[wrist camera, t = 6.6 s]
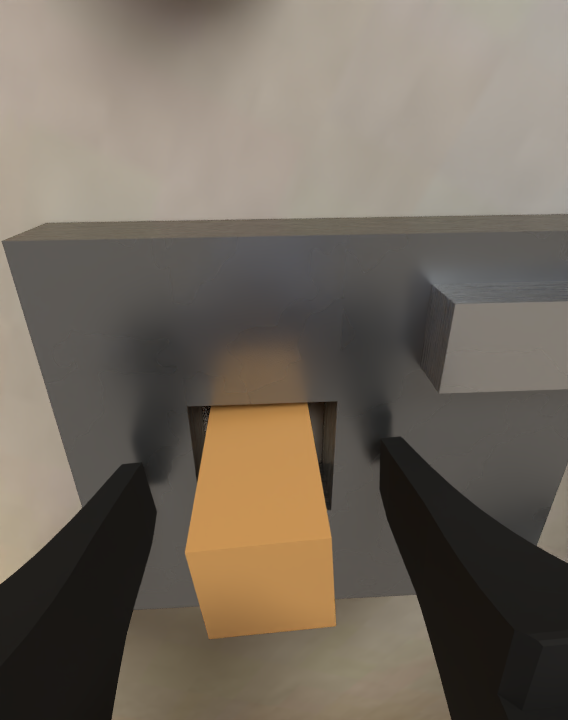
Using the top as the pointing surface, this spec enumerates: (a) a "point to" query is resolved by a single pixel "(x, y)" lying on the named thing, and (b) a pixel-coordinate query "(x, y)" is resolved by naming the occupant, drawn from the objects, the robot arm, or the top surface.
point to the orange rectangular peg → (261, 524)
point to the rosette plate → (308, 361)
